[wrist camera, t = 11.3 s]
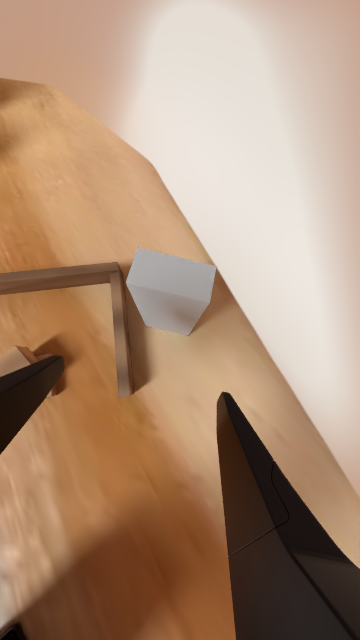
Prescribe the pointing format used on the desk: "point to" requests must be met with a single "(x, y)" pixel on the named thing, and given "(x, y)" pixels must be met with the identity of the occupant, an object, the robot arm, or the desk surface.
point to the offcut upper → (16, 359)
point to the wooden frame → (82, 277)
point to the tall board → (170, 290)
